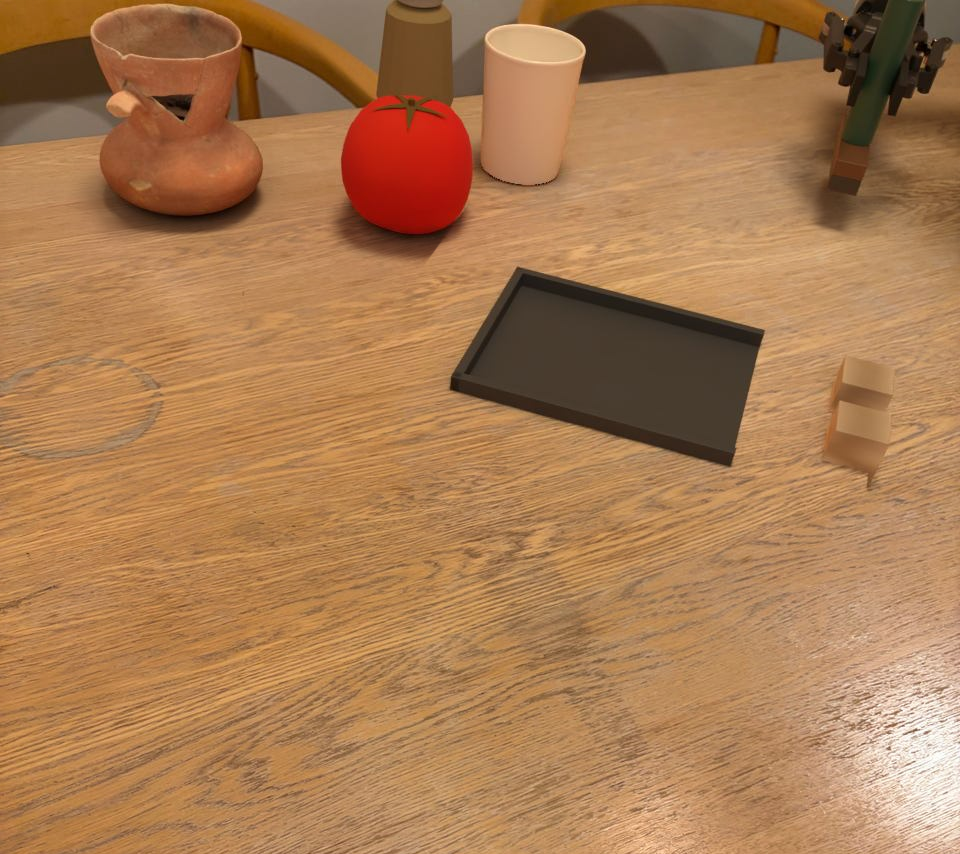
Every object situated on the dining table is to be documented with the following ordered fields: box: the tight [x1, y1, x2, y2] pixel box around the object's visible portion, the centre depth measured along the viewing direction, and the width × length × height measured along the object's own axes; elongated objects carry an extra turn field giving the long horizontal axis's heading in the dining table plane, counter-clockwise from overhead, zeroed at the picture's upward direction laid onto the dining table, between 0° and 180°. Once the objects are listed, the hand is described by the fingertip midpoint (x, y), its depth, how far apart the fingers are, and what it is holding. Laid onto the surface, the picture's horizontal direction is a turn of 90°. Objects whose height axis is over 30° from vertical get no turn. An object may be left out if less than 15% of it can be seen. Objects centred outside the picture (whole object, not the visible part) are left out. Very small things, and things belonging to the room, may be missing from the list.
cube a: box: [828, 355, 896, 414], centre depth 82 cm, size 4×4×4 cm
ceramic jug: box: [89, 3, 264, 217], centre depth 91 cm, size 18×14×14 cm
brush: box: [826, 0, 927, 197], centre depth 100 cm, size 3×12×16 cm, turn 163°
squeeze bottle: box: [376, 0, 454, 108], centre depth 103 cm, size 8×8×18 cm
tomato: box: [340, 91, 474, 235], centre depth 93 cm, size 12×13×11 cm
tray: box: [449, 266, 766, 468], centre depth 83 cm, size 22×18×2 cm
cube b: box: [821, 401, 893, 486], centre depth 78 cm, size 4×4×4 cm
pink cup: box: [480, 23, 587, 186], centre depth 103 cm, size 10×10×12 cm
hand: (876, 95), depth 96 cm, fingers closed on brush, 3 cm apart
